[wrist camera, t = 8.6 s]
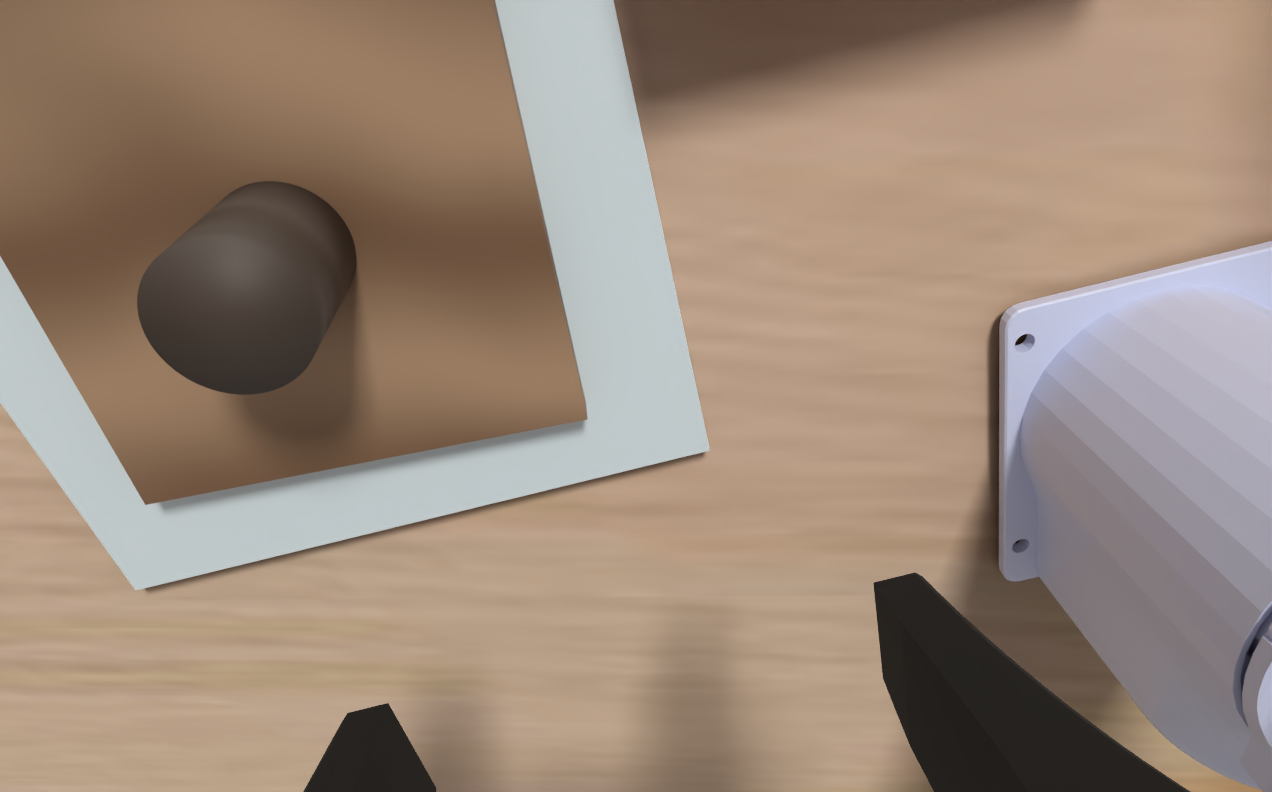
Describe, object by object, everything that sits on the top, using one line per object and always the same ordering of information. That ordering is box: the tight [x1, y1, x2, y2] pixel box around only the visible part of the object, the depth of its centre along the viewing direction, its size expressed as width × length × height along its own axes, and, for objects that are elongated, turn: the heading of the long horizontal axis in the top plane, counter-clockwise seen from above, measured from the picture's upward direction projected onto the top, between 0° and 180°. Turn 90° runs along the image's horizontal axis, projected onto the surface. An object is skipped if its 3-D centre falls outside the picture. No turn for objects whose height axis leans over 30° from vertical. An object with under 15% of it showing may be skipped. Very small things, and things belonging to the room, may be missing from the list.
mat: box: [0, 0, 710, 590], centre depth 19 cm, size 16×16×1 cm
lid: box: [0, 0, 588, 505], centre depth 16 cm, size 11×11×4 cm
